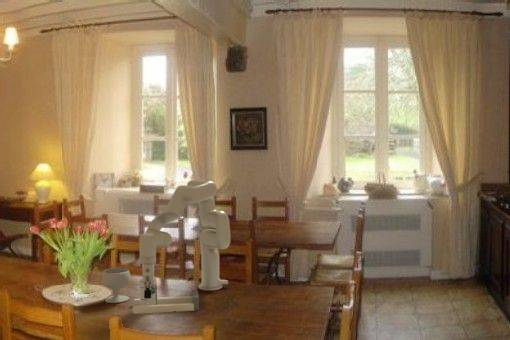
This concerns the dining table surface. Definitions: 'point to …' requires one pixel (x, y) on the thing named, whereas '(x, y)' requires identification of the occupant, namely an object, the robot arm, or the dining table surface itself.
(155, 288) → the syrup box
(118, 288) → the chalice
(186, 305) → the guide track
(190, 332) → the dining table surface
